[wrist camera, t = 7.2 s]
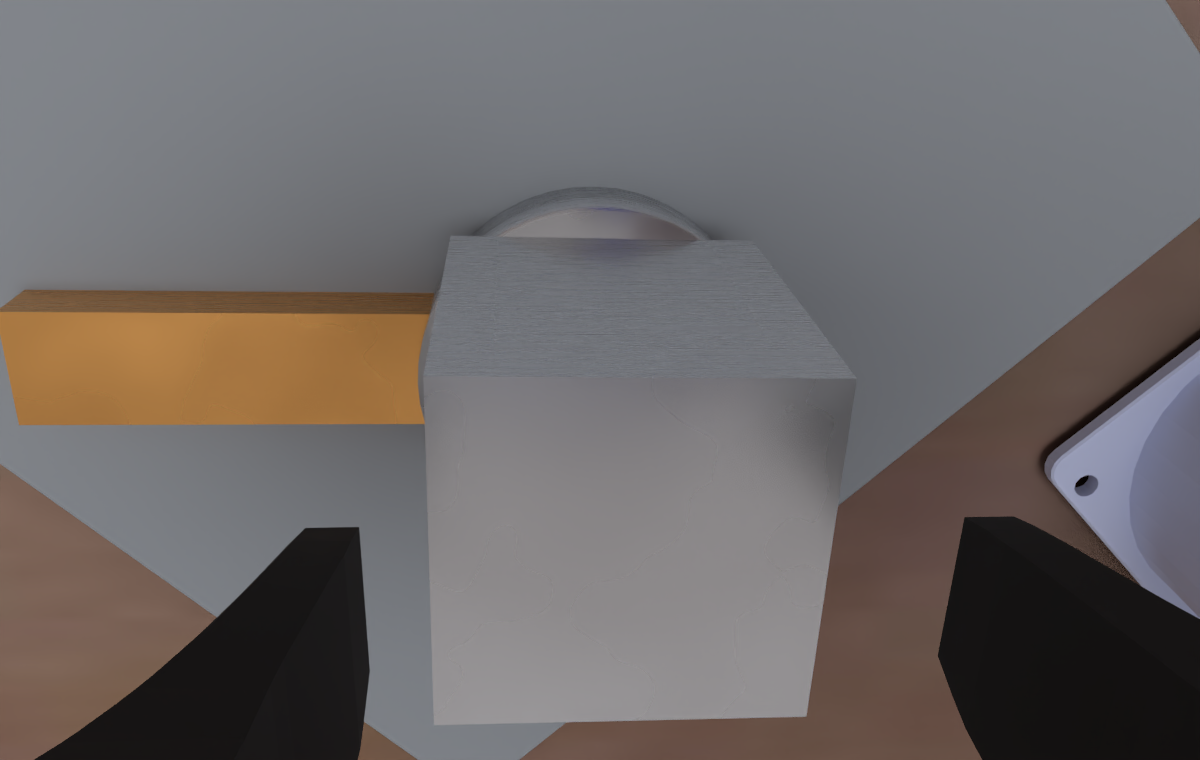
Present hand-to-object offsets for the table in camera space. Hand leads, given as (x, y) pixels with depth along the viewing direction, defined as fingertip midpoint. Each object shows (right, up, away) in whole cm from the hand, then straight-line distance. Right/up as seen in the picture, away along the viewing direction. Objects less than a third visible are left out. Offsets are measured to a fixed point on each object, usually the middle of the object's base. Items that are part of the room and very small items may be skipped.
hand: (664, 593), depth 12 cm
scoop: (-5, +3, +8) cm, 10 cm away
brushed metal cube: (-1, +3, +7) cm, 7 cm away
